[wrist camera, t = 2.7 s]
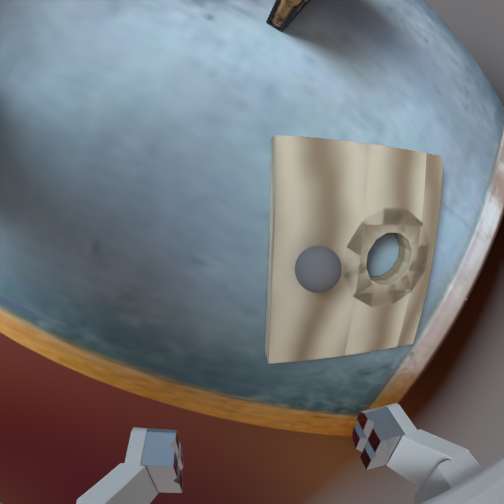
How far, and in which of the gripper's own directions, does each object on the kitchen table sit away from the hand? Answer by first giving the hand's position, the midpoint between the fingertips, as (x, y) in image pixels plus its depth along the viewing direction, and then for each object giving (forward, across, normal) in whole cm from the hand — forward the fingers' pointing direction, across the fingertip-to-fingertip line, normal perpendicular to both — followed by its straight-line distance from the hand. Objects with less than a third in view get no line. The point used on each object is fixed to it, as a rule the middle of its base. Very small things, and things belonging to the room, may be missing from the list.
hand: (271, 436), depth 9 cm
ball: (+17, -7, 0) cm, 18 cm away
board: (+21, -12, 0) cm, 25 cm away
